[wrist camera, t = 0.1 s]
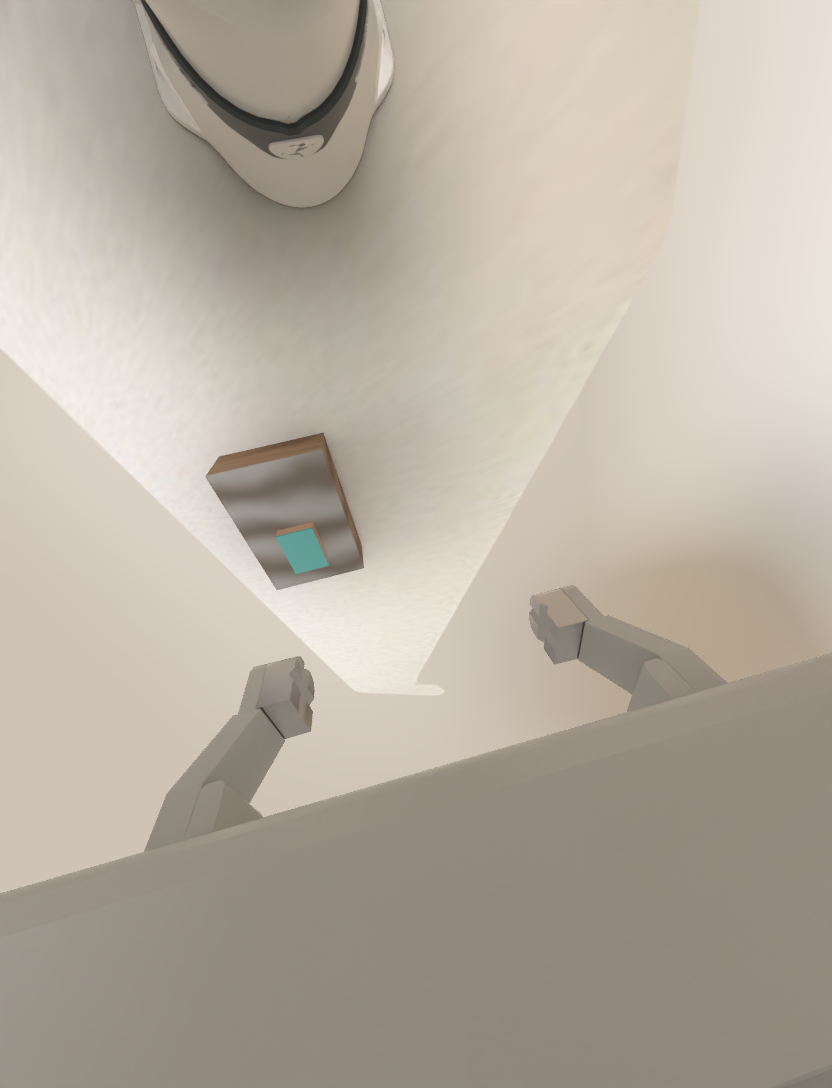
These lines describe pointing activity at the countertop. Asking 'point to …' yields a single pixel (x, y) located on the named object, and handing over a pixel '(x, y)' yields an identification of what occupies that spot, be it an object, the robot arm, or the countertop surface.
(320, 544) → the tile
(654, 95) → the countertop surface
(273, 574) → the board
